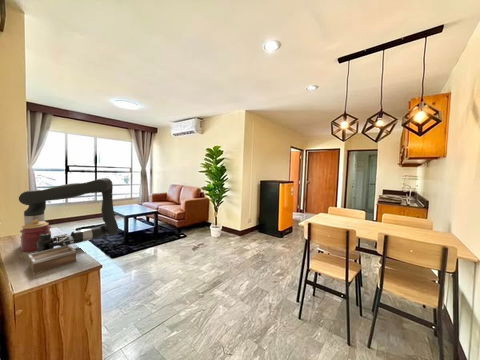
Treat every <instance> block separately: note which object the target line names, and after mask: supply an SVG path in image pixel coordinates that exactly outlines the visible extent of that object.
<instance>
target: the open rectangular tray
mask: <svg viewBox="0 0 480 360" xmlns="http://www.w3.org/2000/svg"><path fill="white" fill-rule="evenodd" d="M27 256H28V258H27V259H28V260H27V261H28V268H29V270H30V271H31V273H32V274H33V275H37V274H40V273H43V272H45V271H49V270H53V269H56V268H60V267H62V266H66V265H70V264H73V263H76V262H77V250H76V249H75V248H73V247H72V246H71V244H70V245H66V246H56V247H54V248H53V249H49V250H45V251H41V252H37V251H35V252H31V253H29V254H27Z"/></svg>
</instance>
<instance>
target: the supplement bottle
mask: <svg viewBox="0 0 480 360" xmlns="http://www.w3.org/2000/svg"><path fill="white" fill-rule="evenodd" d="M53 242H54V240H53V237H52V232H51V233H45V234H41V235H39V240H38V241H37V251H36V252H41V251H45V250H49V249H53V248H55V247H49V243H53Z"/></svg>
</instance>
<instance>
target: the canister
mask: <svg viewBox="0 0 480 360" xmlns="http://www.w3.org/2000/svg"><path fill="white" fill-rule="evenodd" d="M49 224H50V223H49V222H47V221H39V220H37V219H35V220H33V222H31V223H27V224H23V225H22V226H21V228H22V229H20V230H19V232H20V233H21V235H20V236H19V237H20V250H21V252H22V253H35V252H37V241H38V240H39V235H41V234H45V233H51V234H52V231H51V230H50V229H51V228H52V227H51V225H49Z"/></svg>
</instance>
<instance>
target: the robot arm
mask: <svg viewBox="0 0 480 360" xmlns="http://www.w3.org/2000/svg"><path fill="white" fill-rule="evenodd" d="M113 188H114V187H113V181H112V179H110V178H107V177H102V178H97V179H94V180H91V181H87V182H81V183H80V182H75V183H74V182H73V183H66V184H61V185H57V186H52V187H49V188H44V189H42V190H41V189H32V190H31V189H30V190H26V191H23V192H22V193H20V195H19V196H18V202H20V204H22V205H24V206H28V207H27V208H26V210H24V211H23V219H24V220H23V221H24V223H23V225H25V224H27V223H31V222H33V220H35V219H37V220H39V221H45V211H46V206H47V202H48V201H58V200H65V199H66V200H67V199H71V198H77V197H80V196H83V195H87V194H96V193H98V194H99V193H101V195H102V196H101V197H102V202H101V210H100V211H101V217H102V221H103V222H104V223H105V224H103V225H100V226H97V227H92V228H84V229H79V230H74V231H71V232H70V233H71V234H70V235H69V234H67V233H64V234H60V235H54V236H53V237H52V238H53V240H54V242H53V243H49V247H54V248H56V247H62V246H66V245H70V246H71V245H76V244H80V243H85V242H87V241H90V240H91V241H92V240H95V239H98V238H101V237H102V236H104V235H108V236H115V235H117V233H119V226H118V222H117V220H116V216H115V210H114V205H113V204H114V202H113ZM45 222H46V221H45Z"/></svg>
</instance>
